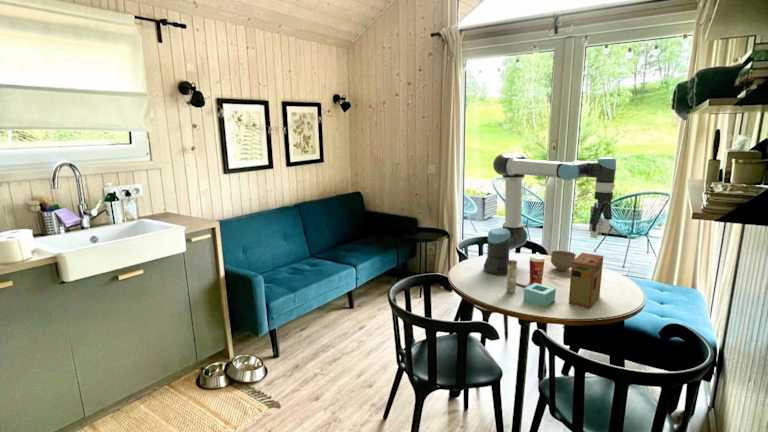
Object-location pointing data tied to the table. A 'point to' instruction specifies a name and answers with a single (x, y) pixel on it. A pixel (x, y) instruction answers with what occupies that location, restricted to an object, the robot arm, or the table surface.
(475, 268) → the table surface
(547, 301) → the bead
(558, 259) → the bowl
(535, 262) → the paper cup
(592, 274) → the box
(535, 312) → the table surface
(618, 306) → the table surface
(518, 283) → the brown wooden stick
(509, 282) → the wooden dowel roller
